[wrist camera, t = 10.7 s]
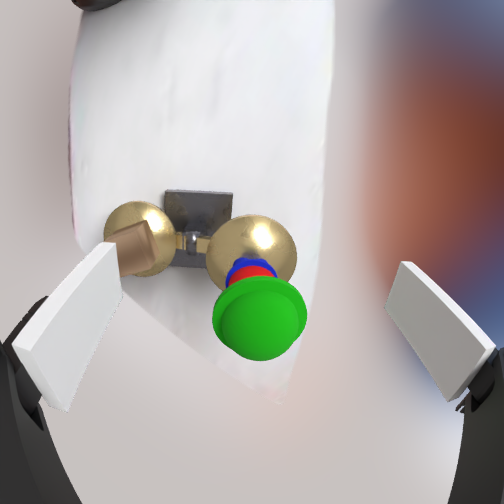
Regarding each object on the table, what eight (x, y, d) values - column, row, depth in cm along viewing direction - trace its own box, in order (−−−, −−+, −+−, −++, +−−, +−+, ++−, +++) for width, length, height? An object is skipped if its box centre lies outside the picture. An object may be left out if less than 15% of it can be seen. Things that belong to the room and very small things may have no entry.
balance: (119, 189, 38) (86, 205, 28) (286, 197, 41) (304, 216, 31) (123, 258, 43) (98, 290, 33) (277, 268, 45) (288, 304, 35)
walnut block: (116, 230, 34) (101, 243, 30) (147, 219, 34) (134, 231, 29) (130, 261, 36) (117, 278, 31) (160, 252, 36) (150, 268, 31)
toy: (287, 231, 31) (326, 304, 18) (280, 289, 34) (305, 379, 21) (219, 228, 31) (208, 302, 17) (218, 288, 34) (211, 380, 20)
